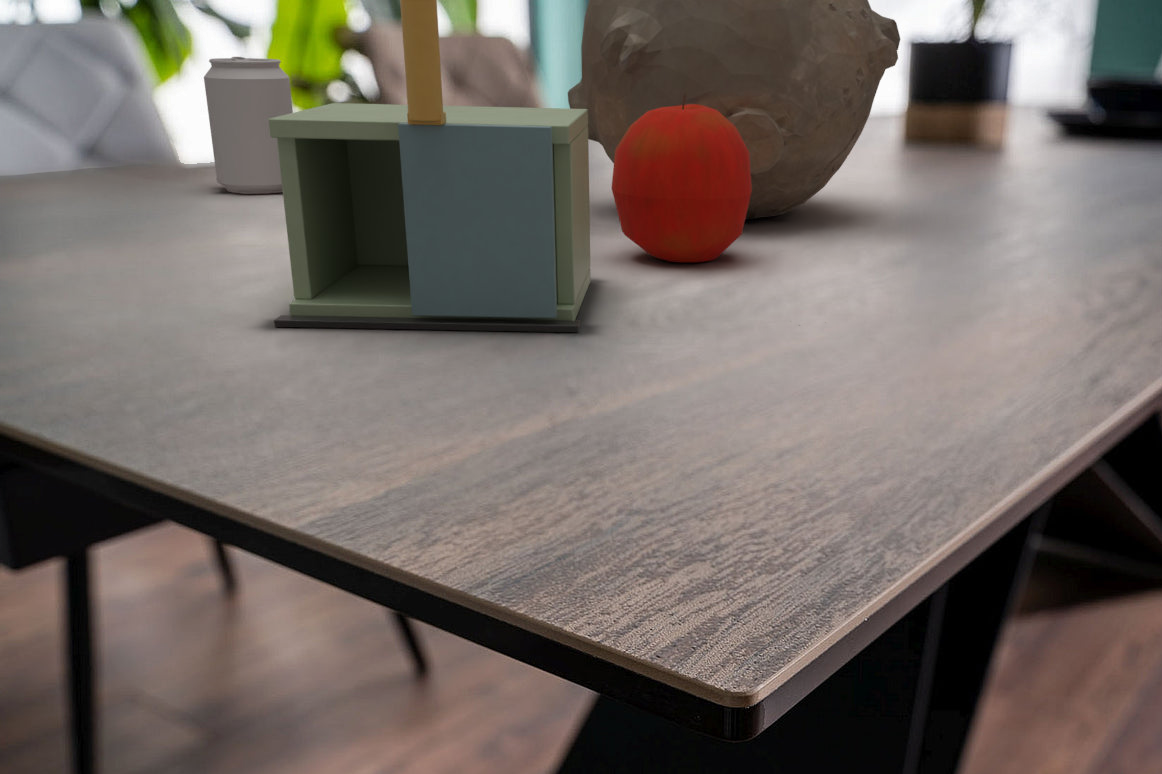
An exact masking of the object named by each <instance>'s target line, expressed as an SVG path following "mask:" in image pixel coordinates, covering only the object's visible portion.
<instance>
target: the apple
mask: <svg viewBox="0 0 1162 774" xmlns="http://www.w3.org/2000/svg"><path fill="white" fill-rule="evenodd" d="M685 99H686V95H685V94H684V99H683V105H680V106H671V107H661V108H657V109H654V110H651V111H647V112H646V113H645V114H644V115H643V116H641V117H640V118H639V119H638V120H637V121H635V122H634V123H633V124H632V125H631V126H630V127H629V129H628V130H627V132H626V133H625V135H624V136H623V138H622V140H621V141H620V143H619V144H618V146H617V147H616V149H615V158H614V163H613V169H612V178H611V179H612V181H611V191H612V196H613V200H614V204H615V209H616V213H617V217H618V220H619V224H620V228H621V233H622V234H623V235H624V236H625V237H627V238H628V239H629V240H630V241H632V242H633V243H634V244H635V245H636V246H638V247H640V249H642V250H643V251H644V252H645V253H647V254H648V255H650V256H652V257H654V258H657V259H660V260H664V261H666V262H675V263H703V262H710V261H714V260H717V258H719V257H720V256H721V255H722V254H723V253H724V252H725V251H726V250H727V249H728V248H729V247H730V246H731V245H732V244H733V243H734V242H735V241H736V240H737V239H738V238H739V237H741V236H742V235H743V231H744V226H745V222H746V219H745V218H746V213H747V209H748V205H749V200H750V196H751V191H752V187H751V173H750V158H749V151H748V149H747V147H746V145H745V143H744V141H743V140H742V138H741V136H740V134H739V132H738V130H737V128H736V127H735V126H734V125H733V124H732V123H731V122H730V121H729V120H728V119H726V118H725V117H724V116H723V115H722V114H721V113H720V112H719V111H717V110H715V109H712V108H709V107H706V106H703V105H698V104H689V105H684V104H685Z"/></svg>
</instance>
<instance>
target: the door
mask: <svg viewBox="0 0 1162 774" xmlns="http://www.w3.org/2000/svg"><path fill="white" fill-rule="evenodd" d="M399 4H400V16H401V18H400V19H401V32H402V33H401V34H402V46H403V61H404V62H403V63H404V75H405V89H406V102H407V103H406V105H408V113H407V120H408V123H399V124H398V130H399V143H400V157H401V171H402V184H403V198H404V212H405V226H406V239H407V253H408V267H409V280H410V294H411V308H412V315H413V316H454V317H507V318H556V316H557V301H556V265H555V229H554V192H553V156H552V127H551V126H519V125H476V124H445V123H446V113H445V112H443V106H444V100H443V85H442V68H441V51H440V49H441V48H440V37H439V36H440V34H439V33H440V32H439V17H438V1H437V0H399Z"/></svg>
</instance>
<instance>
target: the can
mask: <svg viewBox="0 0 1162 774" xmlns="http://www.w3.org/2000/svg"><path fill="white" fill-rule="evenodd" d="M208 62H209V63H210V66H211V67H210V68H209V69H208V70H207V72H206V73H205V75H204V76H203V81H204V83H203V84H204V89H205V91H204V92H205V97H206V98H205V99H206V104H207V112H208V120H209V129H210V136H211V144H212V145H211V146H212V152H213V153H212V154H213V159H214V160H213V161H214V168H215V175H216V182H217V183H218V184H219V185H221V187H223V188H224V189H226V191H227V192H229V193H233V194H243V195H265V194H279V193H283V190H282V180H281V171H280V162H279V153H278V144H277V138H271V136H270V129H269V119H270V118H274V117H278V116H282V115H286V114H290V113H294V112H293V111H294V110H293V109H294V108H293V101H292V91H291V80H290V76H289V75H288V74H287V73H286V72H285V71H284V70H283V69H282V67H280V64H281V60H280V59H277V58H258V57H257V58H254V57H253V58H251V57H249V58H248V57H244V56H232V57H221V58H220V57H219V58H209V60H208Z"/></svg>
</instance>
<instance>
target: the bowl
mask: <svg viewBox="0 0 1162 774" xmlns="http://www.w3.org/2000/svg"><path fill="white" fill-rule="evenodd" d="M900 43H901V36H900V31H899V28H898V24H897V22H896V19H893V18H889V17H886V16H882V15H881V14H879V13H877V12H876V11H875V10H873V9H872V7H871V4H870V2H869V0H588V4H587V7H586V10H585V15H584V20H583V29H582V37H581V46H580V48H581V49H580V50H581V51H580V52H581V55H580V56H581V78H580V81H579V82H578V83H577V84H575V85H574V86H573V87H571V88H569V90H568V91H567V101H568V105H569V109H587V110H588V125H587V126H588V141H593V142H597V143H599V144H600V145H601V146H602V148H603V150H604V152H605V154H606V156H607V157H608V159H609V160H610V161H611V162H612V164H614V158H615V149H616V147H617V146H618V144H619V143H620V141H621V140H622V138H623V136H624V135H625V133H626V132H627V130H628V129H629V127H630V126H631V125H632V124H633V123H634V122H635V121H637V120H638V119H639V118H640V117H641V116H643V115H644V114H645V113H646V112H647V111H651V110H654V109H657V108H661V107H671V106H680V105H683V99H684V94H685V95H686V99H685V104H684V105H689V104H698V105H703V106H706V107H709V108H712V109H715V110H717V111H719V112H720V113H721V114H722V115H723V116H724V117H725V118H726V119H728V120H729V121H730V122H731V123H732V124H733V125H734V126H735V127H736V128H737V130H738V132H739V134H740V136H741V138H742V140H743V141H744V143H745V145H746V147H747V149H748V151H749V158H750V173H751V187H752V191H751V196H750V200H749V205H748V209H747V213H746V218H745V220H752V219H759V218H770V217H777V216H781V215H783V214H786V213H789V212H790V211H792V210H794V209H795V208H798V207H799V206H801V205H805V204H806V202H807V201H808V200H810V199H811V198H813V197H814V196H815V195H816V194H818V193H819V192H820V191H821V190H822V189H823V188H825V187H826V185H828V183H829V181H830V180H831V179H832V178H833V177H834V175H835V174H836V173H838V171H839V170H840V169H841V167H842V166H843V164H844V163H845V161H846V160H847V158H848V157H849V156H850V154H851V152H852V150H853V148H854V147H855V145H856V144H857V142H858V140H859V138H860V136H861V135H862V134H863V131H864V128H865V126H866V124H867V122H868V120H869V117H870V115H871V111H872V108H873V104H874V101H875V98H876V94H877V91H878V88H879V85H880V82H881V80H882V79H883V77H884V75H885V72H886V70H887V69H890V68H893V67H895V66H896V64H897V61H898V60H899V55H898V50H899V46H900Z"/></svg>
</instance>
